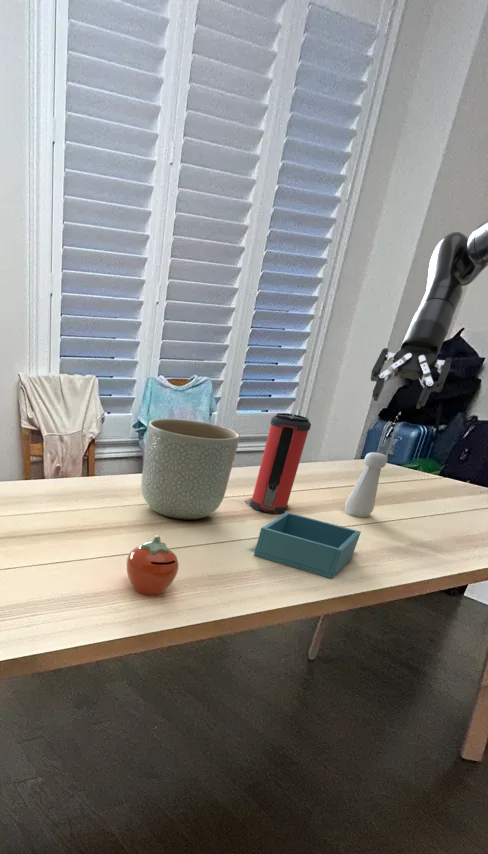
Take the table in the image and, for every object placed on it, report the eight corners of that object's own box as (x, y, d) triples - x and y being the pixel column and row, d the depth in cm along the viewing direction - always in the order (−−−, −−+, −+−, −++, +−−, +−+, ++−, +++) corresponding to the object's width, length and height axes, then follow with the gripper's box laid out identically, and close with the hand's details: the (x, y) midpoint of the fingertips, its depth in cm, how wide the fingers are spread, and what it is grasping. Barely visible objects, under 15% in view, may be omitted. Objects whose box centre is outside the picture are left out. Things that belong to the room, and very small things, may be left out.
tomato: (137, 603, 87) (146, 546, 83) (114, 581, 93) (121, 527, 88) (183, 598, 90) (194, 544, 86) (157, 578, 95) (167, 525, 91)
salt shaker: (337, 515, 135) (358, 451, 128) (348, 511, 139) (369, 448, 131) (363, 523, 132) (386, 458, 125) (373, 519, 136) (397, 455, 128)
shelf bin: (351, 558, 113) (361, 531, 110) (331, 578, 103) (341, 550, 100) (278, 537, 118) (286, 511, 116) (253, 555, 109) (261, 527, 106)
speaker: (247, 509, 132) (270, 415, 121) (252, 500, 138) (274, 410, 128) (284, 517, 130) (311, 422, 120) (287, 507, 136) (313, 417, 126)
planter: (162, 494, 135) (176, 415, 126) (234, 515, 127) (254, 433, 118) (119, 508, 123) (131, 423, 114) (196, 532, 115) (215, 443, 107)
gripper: (394, 313, 130) (363, 384, 130) (468, 322, 125) (436, 397, 125) (389, 339, 137) (360, 407, 137) (460, 349, 132) (429, 420, 132)
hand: (396, 402), depth 131 cm, fingers open, 8 cm apart
